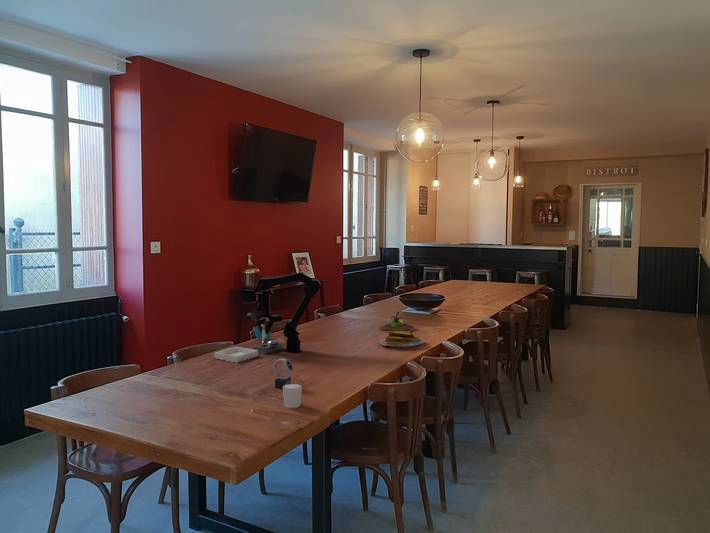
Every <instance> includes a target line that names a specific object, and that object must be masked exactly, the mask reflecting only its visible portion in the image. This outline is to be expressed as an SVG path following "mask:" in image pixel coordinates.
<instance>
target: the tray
mask: <svg viewBox="0 0 710 533" xmlns="http://www.w3.org/2000/svg"><path fill="white" fill-rule="evenodd" d="M213 353H214V358H213V359H215V360H218V359H220V361H223V360H225V362H229V361H230V362H231V363H234V362H235V363H234V364H238V362H239V363H242V362H245V361H248V360H251V359H250V358H252V359H254V358H253V357H255V358H257V356H258V357H259V353H258V350H253V348H252V349H251V348H246V347H241V346H234V347H230V348H226V349H221V350H220V351H216V352H213ZM247 359H248V360H247ZM244 360H245V361H244ZM241 361H242V362H241ZM230 362H229V363H230Z"/></svg>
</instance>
